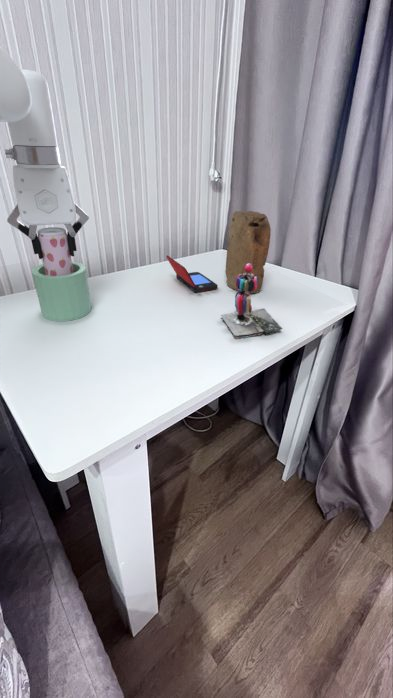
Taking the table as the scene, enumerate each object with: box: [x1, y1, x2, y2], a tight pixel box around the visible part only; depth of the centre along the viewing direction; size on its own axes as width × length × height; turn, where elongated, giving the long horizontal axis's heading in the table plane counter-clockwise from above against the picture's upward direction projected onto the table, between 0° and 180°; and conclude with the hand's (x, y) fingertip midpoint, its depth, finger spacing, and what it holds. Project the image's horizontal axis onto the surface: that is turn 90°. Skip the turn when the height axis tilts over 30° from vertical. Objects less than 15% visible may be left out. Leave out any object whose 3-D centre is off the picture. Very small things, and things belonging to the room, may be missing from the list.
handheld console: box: [165, 255, 219, 293], centre depth 92 cm, size 12×11×7 cm
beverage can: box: [37, 226, 74, 276], centre depth 71 cm, size 6×6×15 cm
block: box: [224, 210, 272, 294], centre depth 88 cm, size 11×8×20 cm
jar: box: [31, 261, 92, 322], centre depth 74 cm, size 11×11×10 cm
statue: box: [220, 263, 283, 340], centre depth 70 cm, size 11×9×15 cm
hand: (56, 255), depth 70 cm, fingers closed on beverage can, 5 cm apart
